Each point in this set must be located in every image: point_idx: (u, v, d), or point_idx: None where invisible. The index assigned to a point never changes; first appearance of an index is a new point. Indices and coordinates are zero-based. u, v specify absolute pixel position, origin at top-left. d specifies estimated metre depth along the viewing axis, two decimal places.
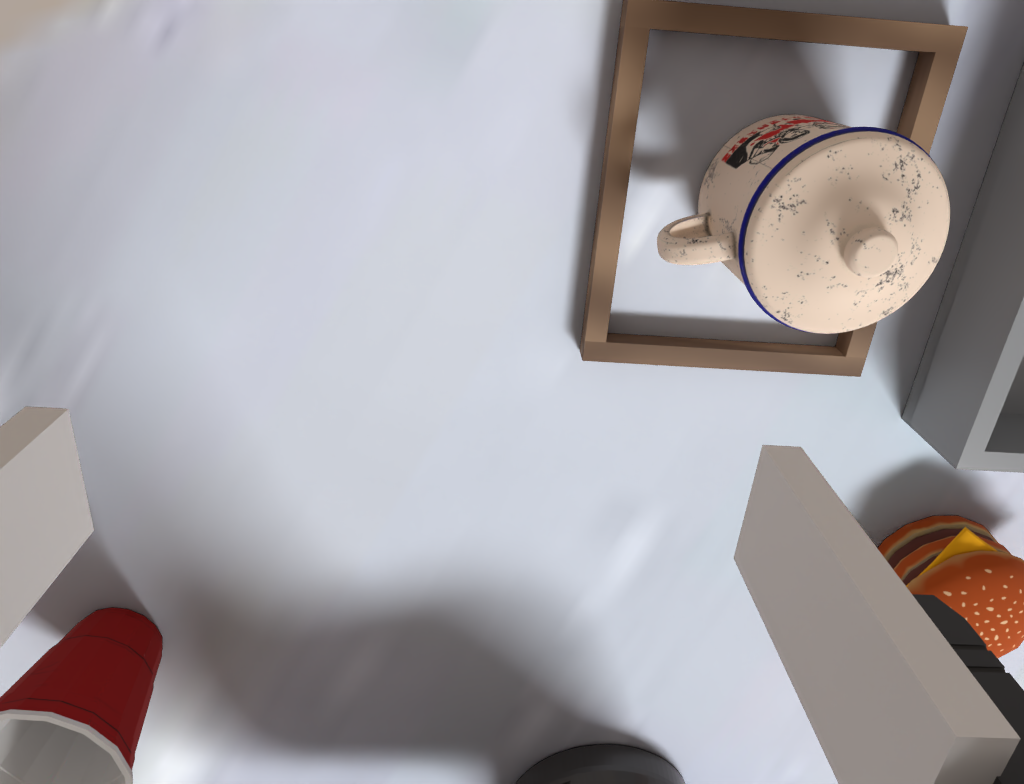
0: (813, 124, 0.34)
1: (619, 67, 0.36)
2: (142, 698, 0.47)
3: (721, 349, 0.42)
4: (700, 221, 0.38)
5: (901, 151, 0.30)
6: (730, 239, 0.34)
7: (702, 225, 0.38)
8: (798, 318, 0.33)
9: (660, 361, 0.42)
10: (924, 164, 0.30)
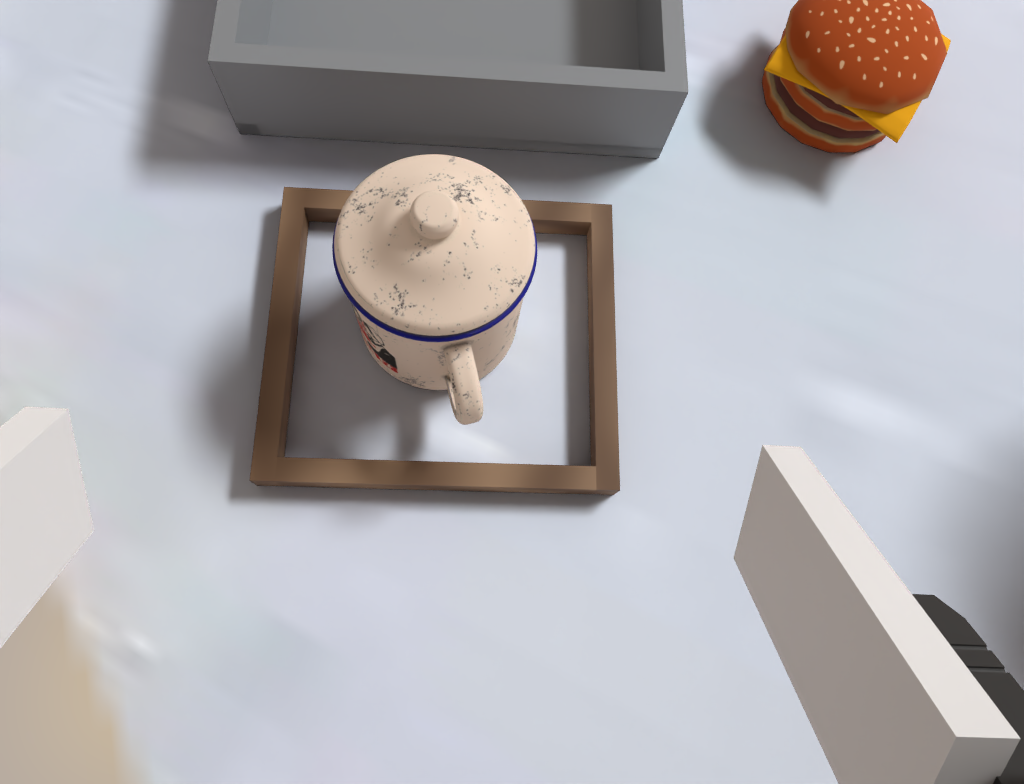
0: None
1: (312, 482, 0.36)
2: None
3: (593, 344, 0.40)
4: None
5: (349, 210, 0.32)
6: (449, 350, 0.33)
7: None
8: (517, 269, 0.32)
9: (613, 405, 0.39)
10: (361, 188, 0.33)
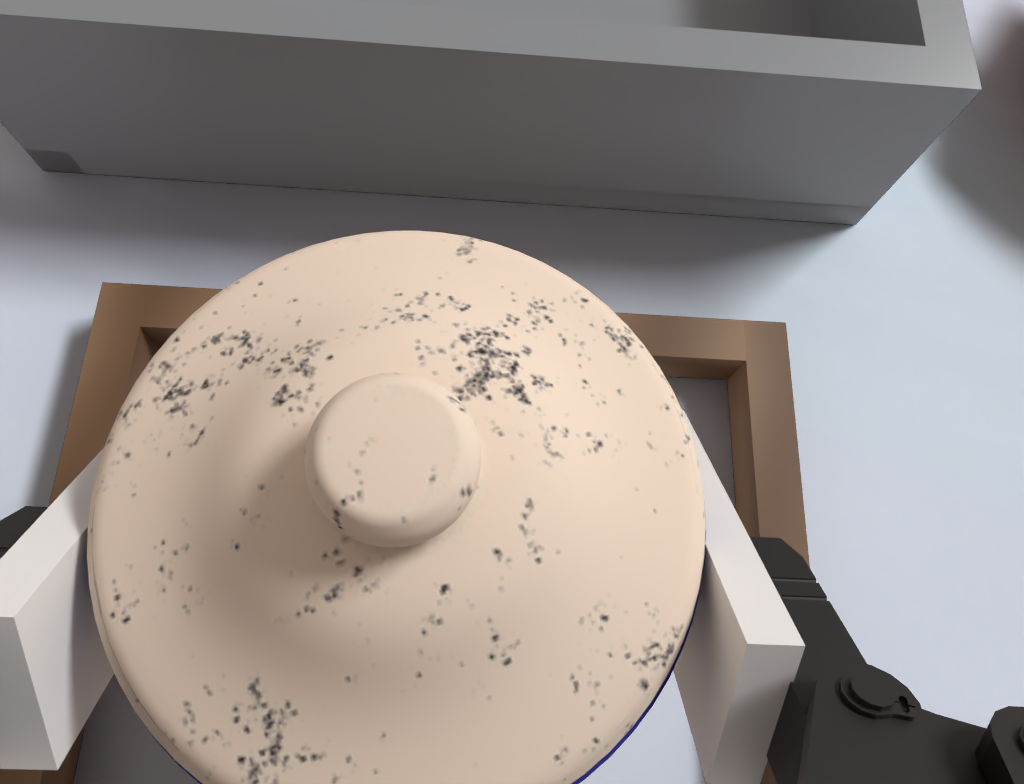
0: None
1: None
2: None
3: None
4: None
5: (145, 399, 0.10)
6: None
7: None
8: (661, 610, 0.10)
9: None
10: (192, 329, 0.11)
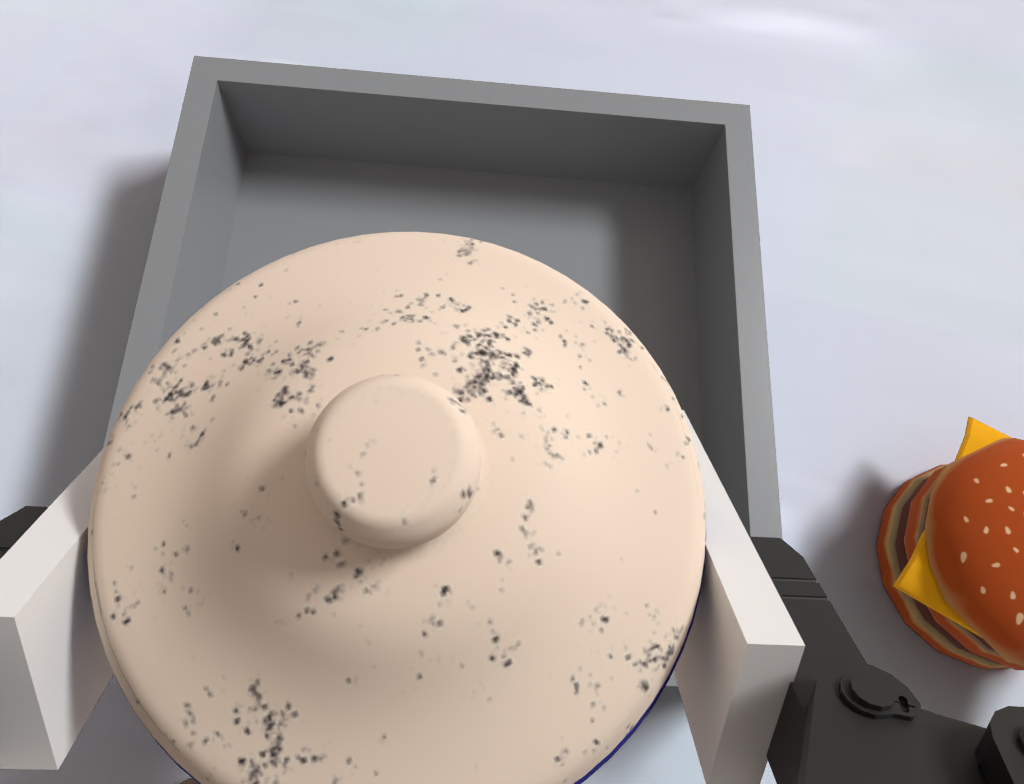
0: None
1: None
2: None
3: None
4: None
5: (145, 400, 0.10)
6: None
7: None
8: (661, 612, 0.10)
9: None
10: (192, 331, 0.11)
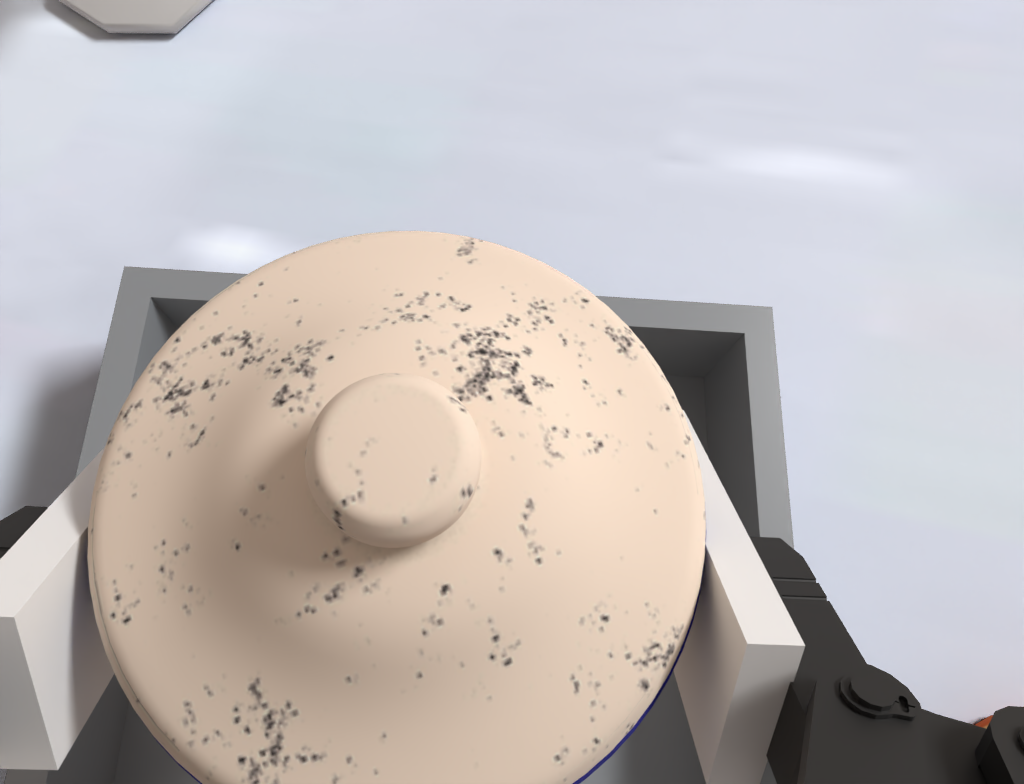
0: None
1: None
2: None
3: None
4: None
5: (145, 399, 0.10)
6: None
7: None
8: (661, 610, 0.10)
9: None
10: (192, 330, 0.11)
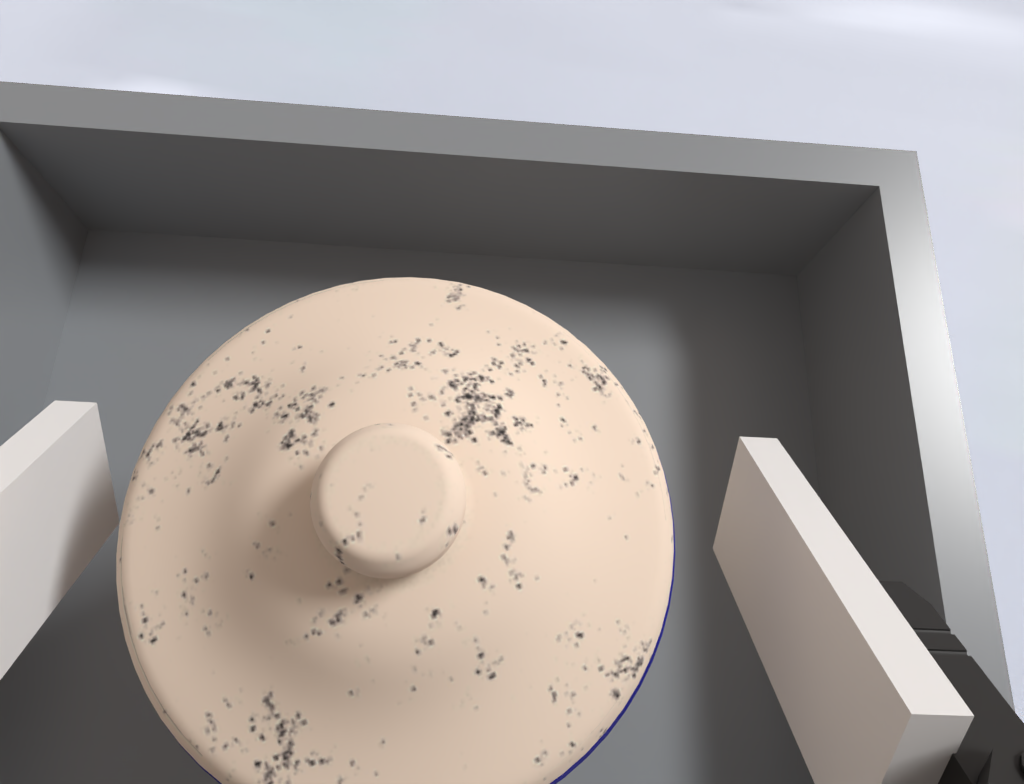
0: None
1: None
2: None
3: None
4: None
5: (165, 439, 0.12)
6: None
7: None
8: (631, 627, 0.11)
9: None
10: (207, 374, 0.12)
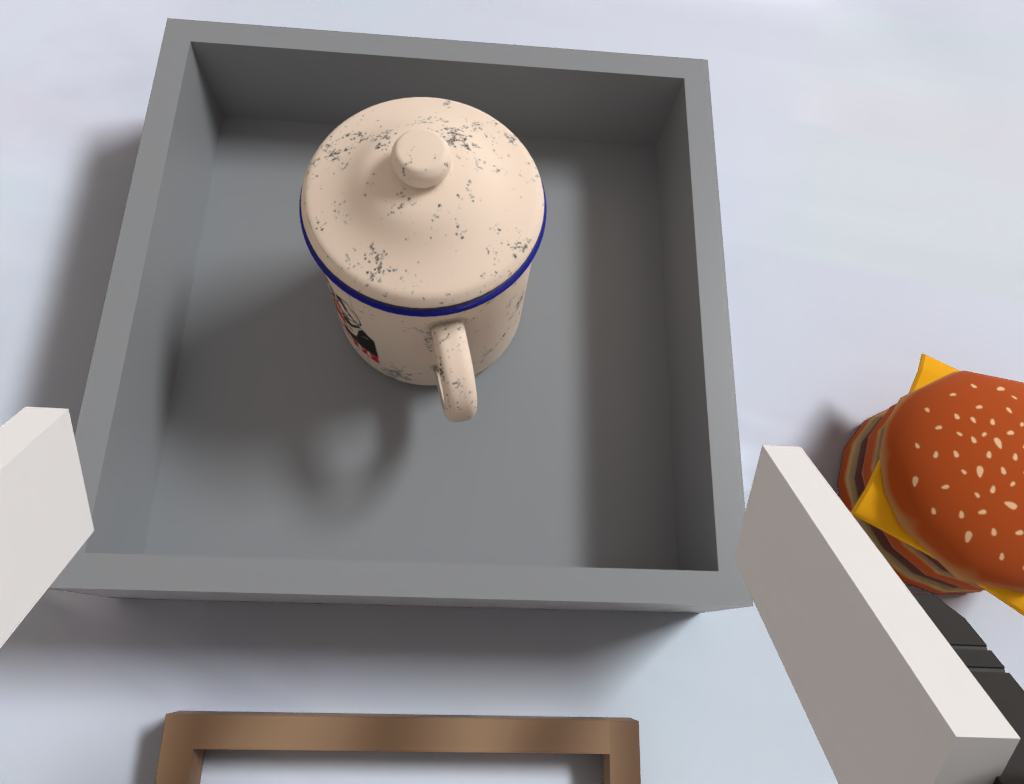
0: None
1: None
2: None
3: None
4: None
5: (321, 157, 0.27)
6: (437, 329, 0.27)
7: None
8: (522, 231, 0.26)
9: None
10: (336, 133, 0.27)
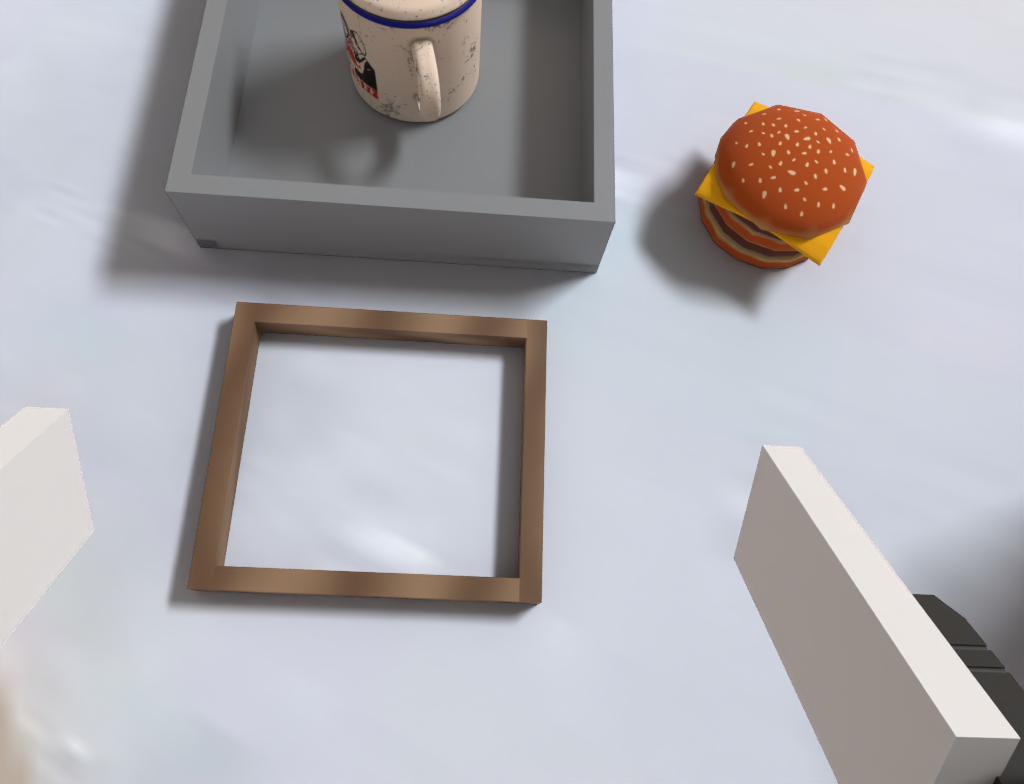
0: None
1: (246, 590, 0.38)
2: None
3: (523, 457, 0.42)
4: None
5: None
6: (414, 44, 0.42)
7: None
8: None
9: (539, 517, 0.41)
10: None
